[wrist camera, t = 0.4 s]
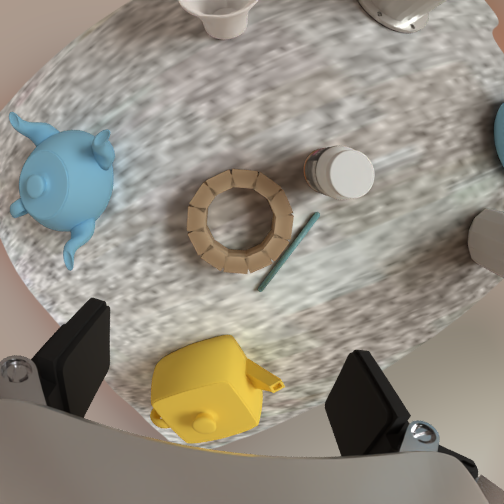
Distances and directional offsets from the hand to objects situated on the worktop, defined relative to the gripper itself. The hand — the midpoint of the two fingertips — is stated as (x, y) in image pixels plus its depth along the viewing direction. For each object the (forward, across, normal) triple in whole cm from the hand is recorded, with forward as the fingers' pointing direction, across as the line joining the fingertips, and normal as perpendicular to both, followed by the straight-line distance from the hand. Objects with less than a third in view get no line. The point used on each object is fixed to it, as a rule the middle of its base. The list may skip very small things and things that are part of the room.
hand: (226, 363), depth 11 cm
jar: (+28, -40, -8) cm, 50 cm away
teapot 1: (+28, +21, -2) cm, 35 cm away
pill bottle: (+28, -10, -9) cm, 31 cm away
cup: (+28, +8, -26) cm, 39 cm away
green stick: (+28, -8, +2) cm, 29 cm away
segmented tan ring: (+28, -1, -1) cm, 28 cm away
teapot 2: (+28, -2, +22) cm, 36 cm away
